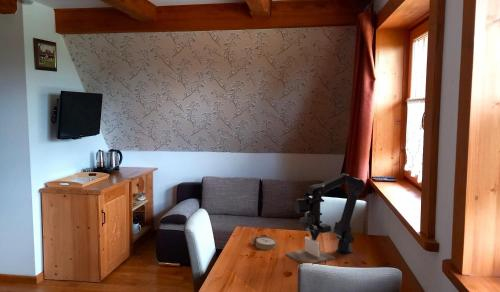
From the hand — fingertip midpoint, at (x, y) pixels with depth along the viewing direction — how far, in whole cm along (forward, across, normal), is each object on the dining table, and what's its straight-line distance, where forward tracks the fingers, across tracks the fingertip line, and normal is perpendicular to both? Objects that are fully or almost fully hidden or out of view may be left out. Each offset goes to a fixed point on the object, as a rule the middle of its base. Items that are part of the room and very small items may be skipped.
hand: (314, 241), depth 195 cm
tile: (+2, 0, -1) cm, 3 cm away
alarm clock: (+8, -25, -14) cm, 30 cm away
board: (+8, 0, -3) cm, 8 cm away
